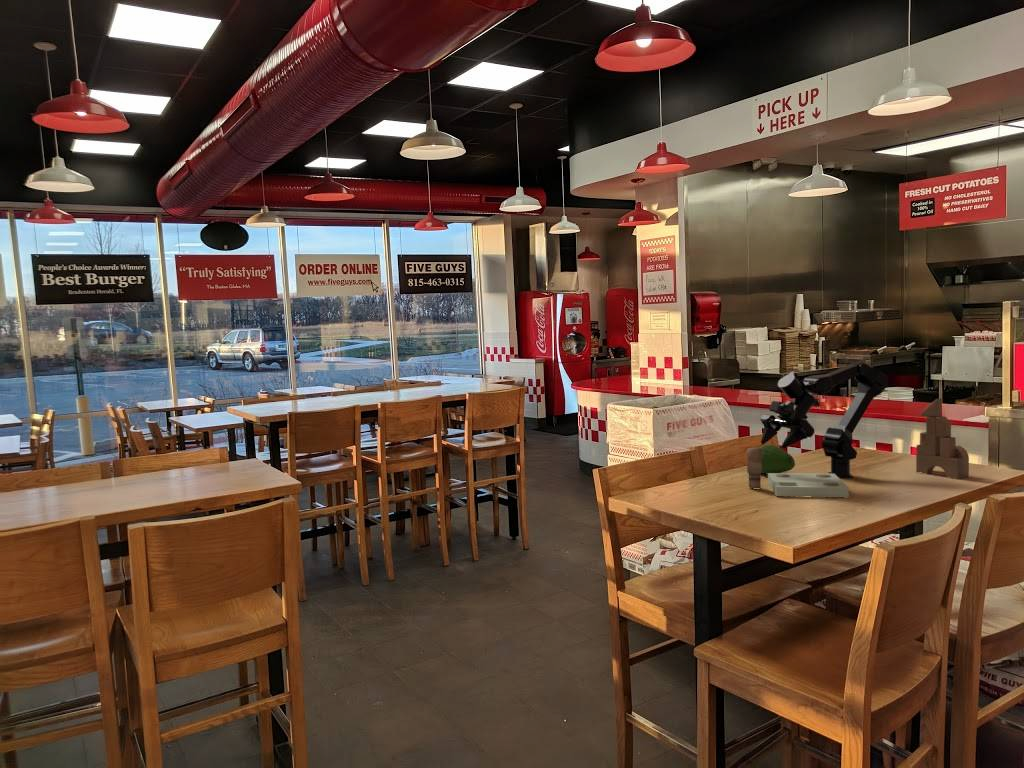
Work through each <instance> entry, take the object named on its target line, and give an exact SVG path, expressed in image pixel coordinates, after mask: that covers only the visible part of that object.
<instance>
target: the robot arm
mask: <svg viewBox="0 0 1024 768" xmlns="http://www.w3.org/2000/svg"><path fill="white" fill-rule="evenodd" d="M851 379H854V380H856V381H857V382H858V383H857V393H856V395H855V397H854V398H853V399H852V401H851V403H850V405H849V406H848V408H847V410H846V411H845V413H844V415H843V417H842V418H841V420H840V422H839V423H838V425H837V426H836V427H828V428H827V429H826V432H825V433H824V435H822V440H821V447H822V449H823V452H824V455H825V457H830V471H828V473H827V474H835V475H836V476H837V477H838V478H854V475H853V474H852V473H851V460H855V459H856V458H857V454H858V452H857V450H856V449H855V448H854V447H853V446H852V444H853V442H854V440H853V433H854V431H855V429H856V427H857V426H858V424H859V422H860V421H861V419H862V417H863V416H864V414H865V412H866V411H867V409H868V407H869V405H870V404H871V402H872V401H873V399H874V398H876V397H878V396H879V395H881V394H882V393H883V392H884V391H885V390H886V388H887V387H888V385H889V376H888V375H887V374H886V373H885V372H884V371H880V370H878V369H876V368H873V367H871V366H869V365H868V364H866V363H864V362H851V363H849V364H847V365H845V366H843V367H840V368H837V369H835V370H833V371H830V372H827V373H825V374H824V373H823V374H818V375H817V374H815V375H809V376H806V377H804V379H803V380H802V379H801V378H800V377H799V375H798V374H797V372H796V371H795V372H794V371H791V372H789V374H787V375H786V374H785V376H783V377H781V378H780V379H779V380H778V382H777V387H778V388H779V389H780V390H781V391H782V392H783V393H784V394H785V396H786V397H787V398H789V399H791V401H790V400H786V401H785V402H782V401H779V400H778V401H777V400H776V401H775V400H771V404H770V406H769V409H768V410H769V411H770V412H773V413H775V414H776V417H777V418H776V417H775V415H772V414H762V416H761V417H760V418H759V420H760V421H761V424H762V425H763V433H762V435H761V441H760V443H761V445H762V446H763V445H766V443H767V442H769V441H770V440H772V439H773V438H774V437H775V436H776V435H778V433H779V431H780V430H781V429H782V428H786V429H789V433H788V434H787V436H786V437H785V439H784V440H783V443H782V444H781V445H780V448H781V449H786V448H788V447H790V446H792V445H794V444H796V443H798V442H801V441H802V440H805V439H808V438H812V437H813V435H814V434H815V428H814V427H813V425H812V424H811V423H810V422H809V421H808V420H807V419H808V416H807V414H808V412H809V411H810V410H811V409H812V407H815V408H816V407H817V408H819V407H820V405H821V404H820V401H819V398H818V397H815V396H814V395H816V396H817V395H818V396H824V395H826V394H827V393H829V392H831V391H832V390H833V388H834V387H835V386H837V385H839V384H841V383H844V382H847V381H849V380H851Z"/></svg>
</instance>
